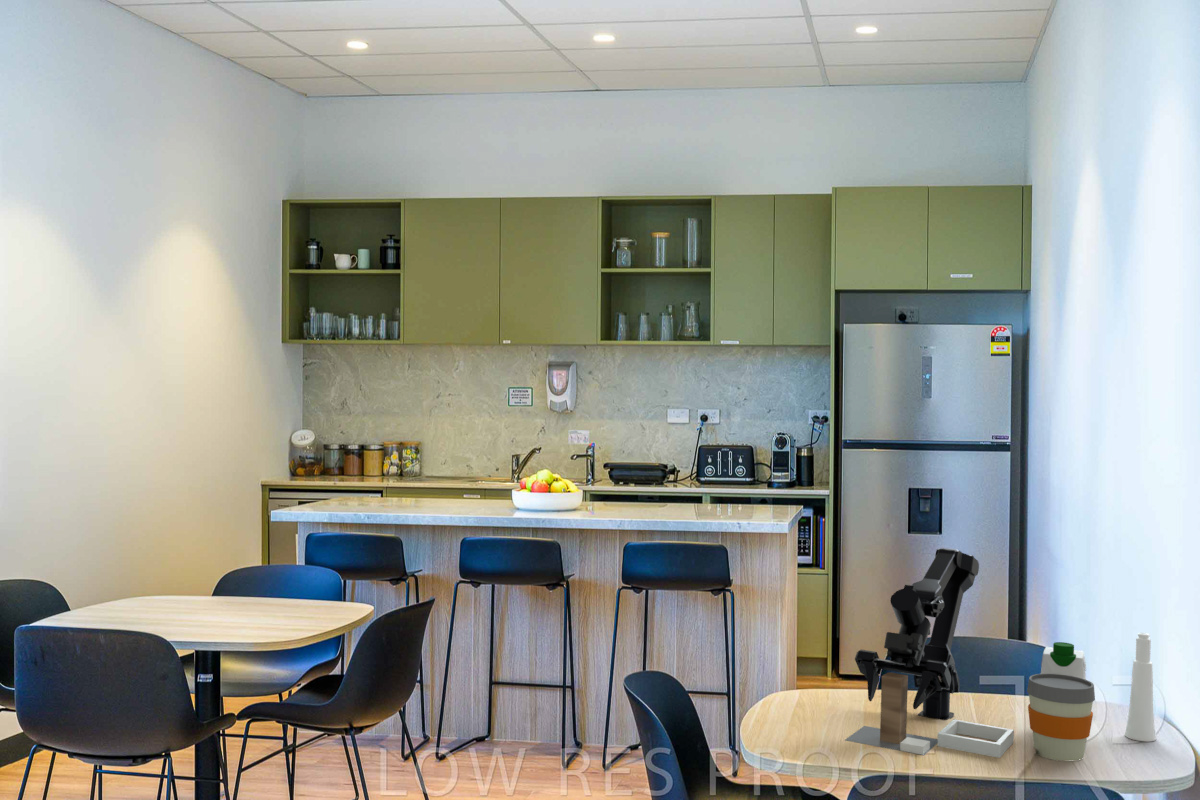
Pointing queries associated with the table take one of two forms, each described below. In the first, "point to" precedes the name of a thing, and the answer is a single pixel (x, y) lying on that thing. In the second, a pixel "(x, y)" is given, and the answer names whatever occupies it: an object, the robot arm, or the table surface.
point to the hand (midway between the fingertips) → (891, 704)
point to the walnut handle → (893, 707)
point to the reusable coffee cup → (1060, 715)
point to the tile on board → (915, 745)
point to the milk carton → (1063, 660)
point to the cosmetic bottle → (1141, 694)
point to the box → (994, 749)
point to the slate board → (873, 738)
